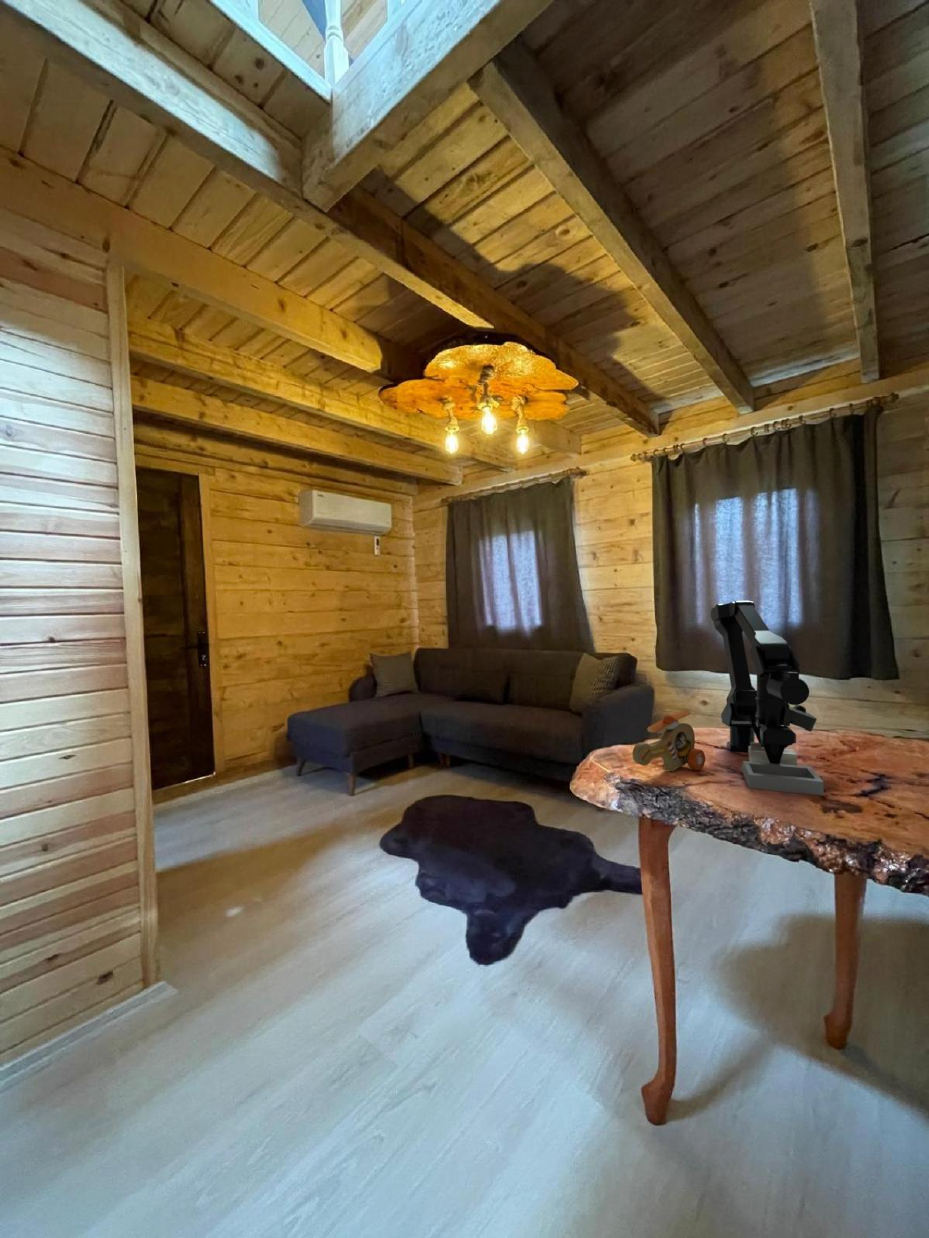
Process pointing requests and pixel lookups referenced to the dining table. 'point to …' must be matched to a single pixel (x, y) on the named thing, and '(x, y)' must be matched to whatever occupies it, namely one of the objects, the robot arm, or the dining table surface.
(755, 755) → the white block with tab
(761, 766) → the cradle
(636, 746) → the toy helicopter
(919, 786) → the dining table surface
